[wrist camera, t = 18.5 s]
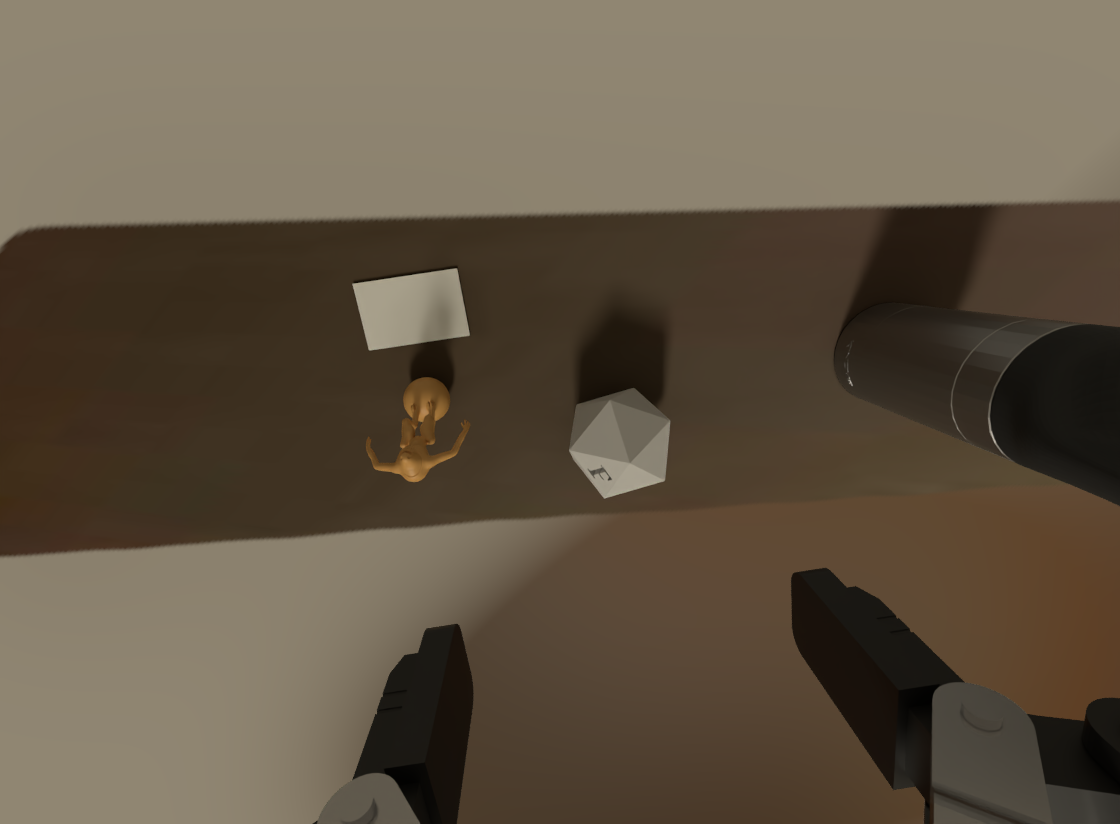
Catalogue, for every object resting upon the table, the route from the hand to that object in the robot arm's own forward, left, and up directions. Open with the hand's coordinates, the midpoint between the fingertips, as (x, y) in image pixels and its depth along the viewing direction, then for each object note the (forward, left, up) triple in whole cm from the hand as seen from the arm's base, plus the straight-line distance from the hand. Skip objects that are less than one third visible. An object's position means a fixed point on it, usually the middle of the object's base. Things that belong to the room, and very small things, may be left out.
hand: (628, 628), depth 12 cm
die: (-4, +7, -36) cm, 37 cm away
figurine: (+12, +2, -36) cm, 38 cm away
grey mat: (+12, -6, -36) cm, 39 cm away
